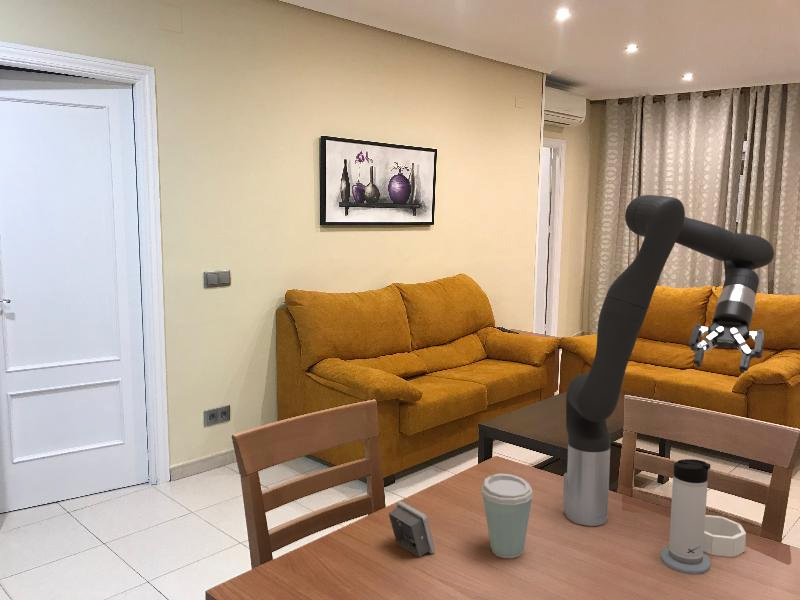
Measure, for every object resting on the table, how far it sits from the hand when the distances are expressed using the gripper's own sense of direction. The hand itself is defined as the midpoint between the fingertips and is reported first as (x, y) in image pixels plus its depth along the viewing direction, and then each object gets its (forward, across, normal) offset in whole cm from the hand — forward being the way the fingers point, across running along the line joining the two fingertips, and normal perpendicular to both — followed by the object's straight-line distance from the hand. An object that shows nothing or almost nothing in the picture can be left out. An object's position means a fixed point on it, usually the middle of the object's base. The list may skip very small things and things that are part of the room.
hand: (719, 367), depth 137 cm
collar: (+30, +3, +22) cm, 37 cm away
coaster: (+38, 0, +14) cm, 41 cm away
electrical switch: (+60, -47, -8) cm, 76 cm away
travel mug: (+38, 0, +13) cm, 40 cm away
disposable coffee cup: (+52, -31, 0) cm, 60 cm away
